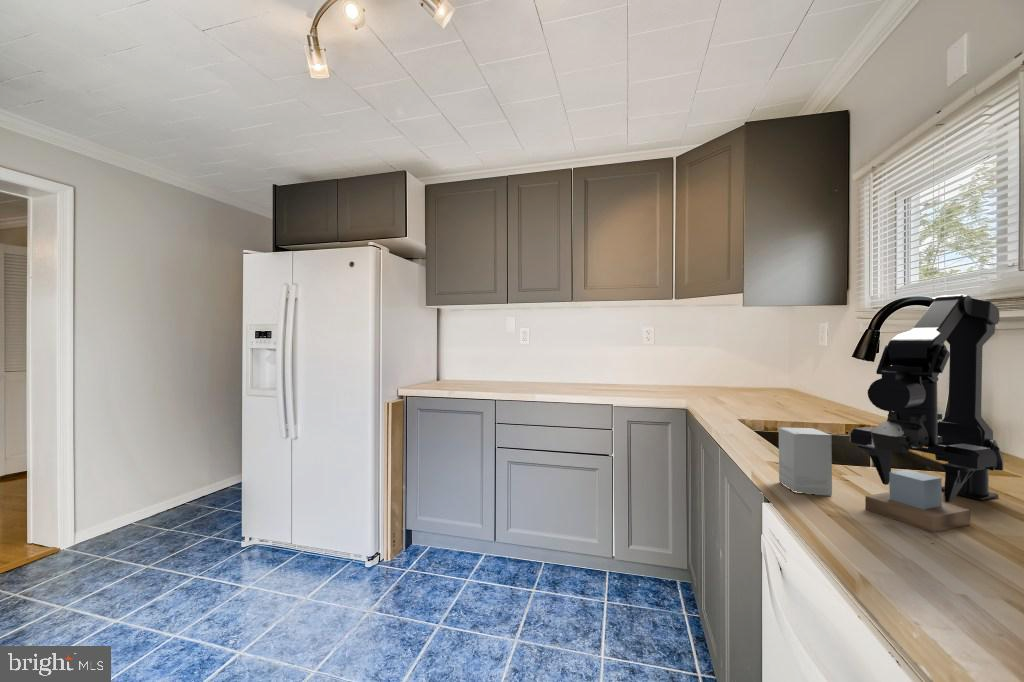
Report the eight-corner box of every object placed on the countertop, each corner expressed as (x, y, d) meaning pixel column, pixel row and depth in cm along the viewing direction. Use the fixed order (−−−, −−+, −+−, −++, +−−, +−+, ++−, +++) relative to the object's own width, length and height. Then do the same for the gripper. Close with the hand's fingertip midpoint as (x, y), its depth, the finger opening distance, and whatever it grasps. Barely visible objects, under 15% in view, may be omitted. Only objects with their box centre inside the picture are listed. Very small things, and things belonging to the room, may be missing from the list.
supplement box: (833, 496, 84) (833, 435, 84) (793, 493, 86) (792, 433, 86) (814, 484, 92) (814, 427, 92) (777, 482, 93) (777, 426, 93)
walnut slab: (900, 502, 81) (900, 490, 81) (970, 524, 71) (970, 509, 71) (865, 509, 78) (865, 495, 78) (932, 532, 68) (932, 517, 68)
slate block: (907, 496, 78) (907, 469, 78) (941, 506, 73) (941, 478, 73) (889, 499, 76) (889, 472, 76) (923, 509, 71) (923, 480, 72)
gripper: (829, 401, 81) (830, 480, 81) (955, 418, 63) (955, 519, 63) (868, 399, 84) (869, 475, 84) (998, 414, 67) (998, 510, 67)
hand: (915, 492), depth 75 cm, fingers open, 9 cm apart
